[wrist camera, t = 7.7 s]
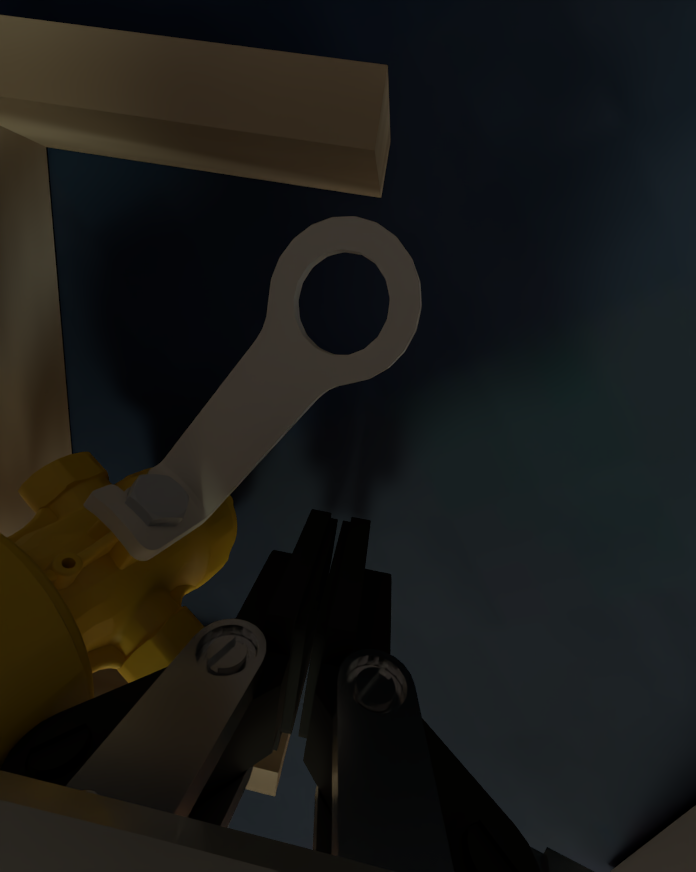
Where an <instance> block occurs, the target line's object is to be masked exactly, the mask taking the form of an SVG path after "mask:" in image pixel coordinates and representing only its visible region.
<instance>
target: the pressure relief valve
mask: <svg viewBox="0 0 696 872" xmlns="http://www.w3.org/2000/svg"><path fill="white" fill-rule="evenodd" d="M343 252H347V253H353V254H359V255H363V256H364V257H366V258H367V259H369V260H370V261H372V262H373V263H375V264H376V265H377V267H378V268H379V270H380V271H381V273H382V274H383V276H384V277H385V279H386V283H387V288H388V292H389V297H390V302H389V310H388V317H387V320H386V322H385V324H384V326H383V328H382V330H381V332H380V334H379V336H378V337H377V338H376V339H375V340H374V341H373V342H371V343H370V344H369V345H368V346H367V347H366V348H365V349H363V350H360V351H358V352H355V353H352V354H350V355H334V354H332V353H330V352H328V351H325V350H323V349H321V348H319V347H318V346H317V345H316V344H315V343H314V342H313V341H312V340H311V339H310V338H309V337H308V336H307V334H306V332H305V329H304V327H303V325H302V323H301V320H300V313H299V302H298V301H299V297H300V292H301V288H302V284H303V282H304V280H305V279H306V277H307V276H308V274H309V273H310V271H311V269H312V268H313V267H314V266H315V265H317V264H318V263H319V262H321V261H322V260H323V259H325V258H326V257H327V256H331V255H335V254H339V253H343ZM421 308H422V302H421V282H420V280H419V277H418V274H417V271H416V268H415V265H414V262H413V259H412V258H411V256H410V255H409V253H408V252H407V251H406V249H405V248H404V246H403V245H402V244H401V242H400V241H399V240H398V238H397V237H396V236H395V235H393V234H392V233H391V232H389V231H388V230H386V229H385V228H384V227H382V226H381V225H379V224H378V223H376V222H373V221H369V220H366V219H363V218H359V217H356V216H347V217H331V218H329V219H326V220H323V221H321V222H318V223H315V224H313V225H311V226H309V227H308V228H307V229H306V230H304V231H303V232H302V233H300V234H299V235H298V236H297V237H295V238H294V239H293V240H292V241H291V243H290V244H289V245H288V247H287V248H286V250H285V251H284V252H283V254H282V255H281V256H280V258H279V260H278V263H277V265H276V268H275V270H274V273H273V275H272V278H271V283H270V291H269V299H268V307H267V316H266V319H265V322H264V325H263V328H262V330H261V332H260V334H259V335H258V337H257V339H256V340H255V342H254V343H253V344H252V345H251V347H250V348H249V349H248V351H247V352H246V353H245V355H244V356H243V357H242V358H241V360H240V361H239V362H238V364H237V365H236V366H235V367H234V369H233V370H232V371H231V373H230V374H229V375H228V377H227V378H226V379H225V380H224V382H223V383H222V384H221V386H220V387H219V388H218V390H217V391H216V392H215V393H214V395H213V396H212V397H211V399H210V400H209V401H208V402H207V404H206V405H205V406H204V408H203V409H202V410H201V412H200V413H199V414H198V415H197V417H196V418H195V419H194V421H193V422H192V423H191V424H190V426H189V427H188V428H187V430H186V431H185V432H184V434H183V435H182V436H181V437H180V439H179V440H178V441H177V443H176V444H175V445H174V447H173V448H172V449H171V450H170V452H169V453H168V454H167V456H166V457H165V458H164V459H163V461H162V462H161V463H159V464H158V465H157V466H155V467H152V468H148V469H145V470H142V471H139V472H137V473H134V474H132V475H129V476H126V477H125V478H124V479H123V480H121V481H119V482H118V483H116V484H115V485H112V484H111V483H110V482H109V477H108V473H107V471H106V470H105V469H104V468H103V467H102V466H101V464H100V463H99V462H98V461H97V460H96V459H95V458H94V457H93V456H92V455H91V453H90V452H80V453H75V454H70V455H67V456H64V457H61V458H59V459H56V460H55V461H53V462H51V463H49V464H47V465H45V466H44V467H42V468H41V469H39V470H38V471H36V472H35V473H34V474H32V475H31V476H30V477H29V478H28V479H27V480H26V481H25V482H24V483H23V484H22V486H21V487H20V488H19V490H18V492H19V494H20V495H21V497H22V498H23V500H24V501H25V502H26V503H27V504H28V506H29V507H30V508H31V509H32V510H33V511H34V512H35V513H36V514H35V516H34V517H33V519H32V520H31V521H30V522H29V523H28V524H27V525H25V526H24V527H23V528H22V529H20V530H19V531H17V532H16V533H14V534H13V535H11V536H9V537H6V536H4V535H3V534H1V533H0V768H1V766H2V764H3V762H4V761H5V759H6V757H7V755H8V754H9V752H10V750H11V749H12V748H13V747H14V746H15V745H16V744H17V743H18V741H19V740H20V739H21V738H22V737H23V736H24V735H25V734H27V733H28V732H29V731H30V730H31V729H33V728H34V727H35V726H37V725H38V724H39V723H40V722H42V721H44V720H46V719H48V718H50V717H51V716H53V715H55V714H57V713H59V712H62V711H64V710H66V709H69V708H71V707H73V706H76V705H78V704H81V703H83V702H85V701H88V700H90V699H92V698H94V685H93V675H92V674H93V673H95V672H97V671H99V670H102V669H108V668H112V669H117V671H118V672H119V673H120V674H121V675H122V676H123V677H124V679H125V680H126V681H127V682H128V683H130V682H132V681H135V680H137V679H139V678H142V677H144V676H147V675H149V674H151V673H154V672H156V671H158V670H161V669H163V668H165V667H168V666H169V665H170V663H171V662H172V661H173V660H174V659H175V658H176V656H177V655H178V654H179V653H180V652H181V650H182V649H183V648H184V647H185V646H186V645H187V643H188V642H189V641H190V640H191V639H192V638H193V636H194V635H195V634H197V633H198V632H199V631H200V630H201V629H202V628H204V626H203V625H202V624H201V622H200V621H199V620H198V619H197V618H196V617H195V616H194V615H193V614H192V613H191V611H190V610H189V609H188V608H187V607H186V606H184V607H181V602H182V598H183V596H184V595H185V594H188V593H189V592H191V591H192V590H194V589H197V588H199V587H200V586H201V585H203V584H204V583H205V582H207V581H208V580H209V579H210V578H211V577H212V576H214V575H215V574H216V573H217V572H218V571H219V570H220V569H221V568H222V567H223V566H224V564H225V563H226V562H227V560H228V558H229V553H230V551H231V548H232V546H233V544H234V542H235V538H236V534H237V519H236V513H235V509H234V506H233V499H232V497H231V496H230V494H231V493H232V492H233V491H234V490H235V489H236V488H237V487H238V485H239V484H240V483H241V482H242V481H243V480H244V479H245V478H246V477H247V476H248V475H249V473H250V472H251V471H252V470H253V469H254V468H255V467H256V466H257V465H258V464H259V463H260V462H261V460H262V459H263V458H264V457H265V456H266V455H267V454H268V453H269V452H270V451H271V450H272V448H273V447H274V446H275V445H276V444H277V443H278V442H279V441H280V440H281V439H282V438H283V436H284V435H285V434H286V433H287V432H288V431H289V430H290V429H291V428H292V427H293V426H294V424H295V423H296V422H297V421H298V420H299V419H300V418H301V417H302V416H303V415H304V414H305V412H306V411H307V410H308V409H309V408H310V407H311V406H312V405H313V404H314V403H315V402H316V400H317V399H318V398H320V397H321V396H322V395H323V394H324V393H326V392H327V391H328V390H330V389H333V388H335V387H337V386H341V385H346V384H350V383H355V382H359V381H363V380H368V379H371V378H373V377H374V376H376V375H378V374H380V373H381V372H383V371H385V370H387V369H388V368H390V367H391V366H392V365H393V364H394V363H395V362H396V361H397V360H398V359H399V357H400V356H401V355H402V354H403V353H404V352H405V351H406V349H407V347H408V345H409V344H410V342H411V340H412V338H413V336H414V334H415V332H416V330H417V326H418V321H419V317H420V312H421Z"/></svg>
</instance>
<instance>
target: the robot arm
mask: <svg viewBox="0 0 696 872" xmlns="http://www.w3.org/2000/svg"><path fill="white" fill-rule="evenodd" d="M337 522H338V519H333V518H331V513H329V512H324V511H319V510H314V509H312V510H311V513H310V515H309V517H308V519H307V522H306V524H305V526H304V528H303V531H302V533H301V535H300V537H299V540H298V542H297V544H296V547H295V549H294V551H293V553H292V554H291V553H286V552H281V551H276V550H273V551H272V552H271V554H270V555H269V557H268V559H267V561H266V563H265V565H264V567H263V569H262V570H261V572H260V574H259V576H258V578H257V580H256V582H255V583H254V585H253V587H252V589H251V591H250V593H249V595H248V597H247V598H246V600H245V602H244V604H243V606H242V608H241V610H240V612H239V613H238V615H237V617H236V619H224V620H220V621H216V622H213V623H211V624H209V625H207V626H206V627H204V628H202V629H201V630H200V631H199V632H198V633H197V634H195V635H194V636H193V638H192V639H191V640H190V641H189V642H188V643H187V645H186V646H185V647H184V648H183V649H182V650H181V652H180V653H179V654H178V655H177V656H176V658H175V659H174V660H173V661H172V662H171V663H170V665H169V666H168V667H165V668H163V669H161V670H158V671H156V672H154V673H151V674H149V675H147V676H144V677H142V678H139V679H137V680H135V681H132V682H130V683H128V684H125V685H123V686H121V687H118V688H116V689H114V690H111V691H109V692H106V693H104V694H102V695H99V696H97V697H95V698H92V699H90V700H88V701H85V702H83V703H81V704H78V705H76V706H73V707H71V708H69V709H66V710H64V711H62V712H59V713H57V714H55V715H53V716H51V717H50V718H48V719H46V720H44V721H42V722H40V723H39V724H38V725H37V726H35V727H34V728H33V729H31V730H30V731H29V732H28V733H27V734H25V735H24V736H23V737H22V738H21V739H20V740H19V741H18V743H17V744H16V745H15V746H14V747H13V748H12V749H11V750H10V752H9V754H8V755H7V757H6V759H5V761H4V762H3V764H2V766H1V768H0V872H594V871H592V870H590V869H588V868H586V867H585V866H583V865H581V864H579V863H577V862H575V861H573V860H571V859H569V858H567V857H565V856H563V855H561V854H560V853H558V852H556V851H554V850H552V849H550V848H548V847H547V848H546V850H545V852H544V854H543V853H541V852H539V851H538V850H536V849H534V848H532V847H530V846H529V844H528V842H527V841H526V840H525V838H524V837H523V835H522V834H521V833H520V831H519V830H518V828H517V827H516V826H515V825H514V823H513V822H512V821H511V820H510V819H509V818H508V816H507V815H506V814H505V813H504V812H503V811H502V810H501V808H500V807H499V806H498V805H497V804H496V803H495V801H494V800H493V799H492V798H491V797H490V796H489V795H488V793H487V792H486V791H485V790H484V789H483V788H482V786H481V785H480V784H479V783H478V782H477V781H476V780H475V778H474V777H473V776H472V775H471V774H470V773H469V772H468V770H467V769H466V768H465V767H464V766H463V765H462V763H461V762H460V761H459V760H458V759H457V758H456V757H455V755H454V754H453V753H452V752H451V751H450V750H449V748H448V747H447V746H446V745H445V744H444V743H443V742H442V740H441V739H440V738H439V737H438V736H437V735H436V734H435V732H434V731H433V730H432V729H431V728H430V727H429V725H428V724H427V723H426V722H425V721H424V720H423V719H422V716H421V711H420V707H419V702H418V697H417V692H416V688H415V684H414V681H413V679H412V676H411V674H410V672H409V671H408V670H407V668H406V667H405V665H404V664H403V663H401V662H400V661H399V660H398V659H397V658H396V657H394V656H392V655H390V638H391V574H388V573H383V572H378V571H373V570H368V569H365V563H366V555H367V547H368V539H369V531H370V523H371V521H370V520H365V519H360V518H355V517H352V518H351V522H348V521H343V523H342V527H341V531H340V535H339V538H338V542H337V546H336V550H335V554H334V558H333V561H332V565H331V559H332V553H333V546H334V540H335V534H336V528H337ZM330 565H331V569H330ZM329 571H330V573H329ZM310 658H311V660H310ZM309 662H310V666H309ZM308 666H309V673H308V679H307V685H306V691H305V698H304V704H303V710H302V716H301V723H300V729H299V736H300V737H304V738H307V741H306V747H305V753H304V759H303V761H304V763H305V765H306V766H307V768H308V770H309V772H310V774H311V775H312V777H313V779H314V781H315V783H316V784H317V787H316V793H315V807H314V830H313V850H311V849H307V848H303V847H299V846H295V845H292V844H288V843H284V842H280V841H276V840H272V839H268V838H265V837H261V836H257V835H253V834H249V833H245V832H242V831H238V830H234V829H230V828H227V827H228V825H229V823H230V821H231V819H232V816H233V814H234V812H235V810H236V808H237V806H238V803H239V801H240V799H241V797H242V795H243V793H244V790H245V788H246V786H247V784H248V782H249V779H250V776H251V773H252V770H253V766H254V765H255V764H256V763H258V762H259V761H261V760H262V759H264V758H265V757H267V756H268V755H270V754H271V753H272V752H273V750H276V751H277V749H278V746H279V742H280V738H281V735H282V732H283V733H287V734H291V733H292V730H293V726H294V722H295V718H296V714H297V710H298V706H299V702H300V698H301V694H302V690H303V686H304V682H305V678H306V674H307V670H308Z"/></svg>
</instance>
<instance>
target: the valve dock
mask: <svg viewBox="0 0 696 872" xmlns="http://www.w3.org/2000/svg"><path fill="white" fill-rule="evenodd" d="M46 147H49V148H56V149H63V150H69V151H76V152H82V153H89V154H95V155H102V156H109V157H115V158H122V159H128V160H135V161H142V162H148V163H155V164H161V165H168V166H174V167H181V168H188V169H194V170H201V171H207V172H214V173H220V174H227V175H234V176H240V177H247V178H253V179H260V180H266V181H273V182H280V183H286V184H293V185H299V186H306V187H312V188H319V189H326V190H332V191H339V192H345V193H352V194H358V195H365V196H372V197H378V198H381V196H382V190H383V184H384V178H385V172H386V165H387V159H388V153H389V147H390V113H389V85H388V65H383V64H375V63H367V62H360V61H352V60H344V59H337V58H329V57H321V56H314V55H306V54H298V53H290V52H283V51H275V50H267V49H260V48H252V47H244V46H237V45H229V44H221V43H213V42H206V41H198V40H190V39H183V38H175V37H167V36H160V35H152V34H144V33H136V32H129V31H121V30H113V29H106V28H98V27H90V26H83V25H75V24H67V23H59V22H52V21H44V20H36V19H29V18H21V17H13V16H6V15H0V533H1V534H3V535H4V536H6V537H9V536H11V535H13V534H14V533H16V532H17V531H19V530H20V529H22V528H23V527H24V526H25V525H27V524H28V523H29V522H30V521H31V520H32V519H33V517H34V516H35V514H36V513H35V512H34V511H33V510H32V509H31V508H30V507H29V506H28V504H27V503H26V502H25V501H24V500H23V498H22V497H21V495H20V494H19V492H18V490H19V488H20V487H21V486H22V484H23V483H24V482H25V481H26V480H27V479H28V478H29V477H30V476H31V475H32V474H34V473H35V472H36V471H38V470H39V469H41V468H42V467H44V466H45V465H47V464H49V463H51V462H53V461H55V460H56V459H59V458H61V457H64V456H67V455H70V454H72V449H71V437H70V425H69V414H68V402H67V390H66V378H65V366H64V354H63V342H62V330H61V319H60V307H59V295H58V283H57V271H56V259H55V247H54V236H53V224H52V212H51V200H50V188H49V176H48V164H47V152H46ZM92 675H93V685H94V698H95V697H97V696H99V695H102V694H104V693H106V692H109V691H111V690H114V689H116V688H118V687H121V686H123V685H125V684H128V682H127V681H126V680H125V679H124V677H123V676H122V675H121V674H120V673H119V672H118V671H117V669H112V668H108V669H102V670H99V671H97V672H95V673H93V674H92ZM289 738H290V734H287V733H283V732H282V735H281V738H280V742H279V746H278V749H277V751H276V750H273V752H272V753H271V754H270V755H268V756H267V757H265V758H264V759H262V760H261V761H259V762H258V763H256V764H255V765H254V766H253V770H252V773H251V776H250V779H249V782H248V784H247V786H246V788H245V789H248V790H252V791H256V792H260V793H264V794H268V795H272V796H275V794H276V790H277V786H278V782H279V778H280V774H281V770H282V766H283V762H284V758H285V754H286V750H287V746H288V742H289Z"/></svg>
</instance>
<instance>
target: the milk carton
mask: <svg viewBox="0 0 696 872" xmlns="http://www.w3.org/2000/svg"><path fill="white" fill-rule="evenodd" d="M611 872H696V805H695V806H694V807H693V808H691V809H690V810H689V811H687V812H686V813H685V814H683V815H682V816H681V817H680V818H678V819H677V820H676V821H674V822H673V823H672V824H671V825H669V826H668V827H667V828H665V829H664V830H663V831H662V832H660V833H659V834H658V835H656V836H655V837H654V838H652V839H651V840H650V841H649V842H647V843H646V844H645V845H643V846H642V847H641V848H640V849H638V850H637V851H636V852H634V853H633V854H632V855H630V856H629V857H628V858H627V859H625V860H624V861H623V862H621V863H620V864H619V865H618V866H616V867H615V868H614V869H613V870H612V871H611Z"/></svg>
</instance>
